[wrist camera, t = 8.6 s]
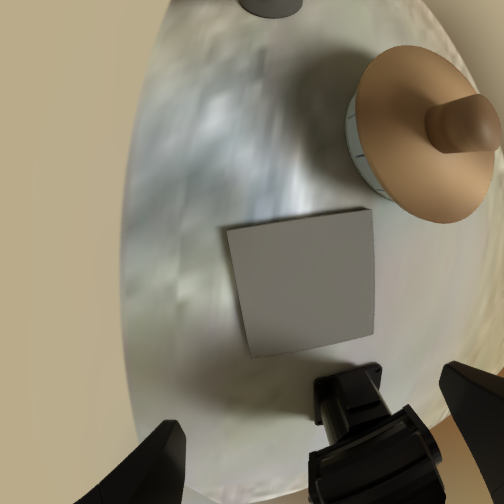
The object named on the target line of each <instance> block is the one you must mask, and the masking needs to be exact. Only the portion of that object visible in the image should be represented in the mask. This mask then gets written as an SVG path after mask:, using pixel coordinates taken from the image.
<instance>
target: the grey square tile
mask: <svg viewBox="0 0 504 504" xmlns="http://www.w3.org/2000/svg"><path fill="white" fill-rule="evenodd" d="M227 236H228V242H229V247H230V253H231V258H232V264H233V269H234V274H235V279H236V285H237V290H238V295H239V300H240V305H241V310H242V316H243V321H244V326H245V331H246V336H247V340H248V345H249V350H250V355H251V358H258V357H265V356H272V355H278V354H284V353H290V352H296V351H301V350H307V349H312V348H317V347H322V346H327V345H331V344H336V343H340V342H345V341H349V340H353V339H357V338H361V337H365V336H369V335H373V331H374V307H375V261H374V237H373V221H372V210H371V209H363V210H355V211H348V212H340V213H333V214H326V215H319V216H312V217H305V218H298V219H291V220H285V221H278V222H271V223H265V224H259V225H252V226H246V227H240V228H234V229H228V230H227Z"/></svg>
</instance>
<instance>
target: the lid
mask: <svg viewBox="0 0 504 504" xmlns="http://www.w3.org/2000/svg"><path fill="white" fill-rule="evenodd" d="M355 118H356V125H357V131H358V136H359V140H360V144H361V147H362V150H363V152H364V155H365V158H366V160H367V162H368V164H369V167H370V169H371V170H372V172H373V174H374V176H375V177H376V179H377V181H378V182H379V184H380V185H381V186H382V188H383V189H384V191H385V192H386V193H387V194H388V195H389V196H390V197H391V199H392V200H393V201H394V202H396V203H397V204H398V205H399V206H400V207H401V208H403V209H404V210H405V211H407V212H408V213H410V214H412V215H414V216H416V217H418V218H421V219H424V220H427V221H431V222H434V223H442V224H446V223H454V222H458V221H460V220H462V219H464V218H466V217H468V216H469V215H470V214H472V213H473V212H474V211H475V210H476V209H477V208H478V207H479V205H480V204H481V202H482V201H483V199H484V197H485V196H486V194H487V191H488V189H489V186H490V183H491V180H492V176H493V169H494V151H495V150H497V149H498V148H499V146H500V143H501V137H502V131H501V124H500V121H499V117H498V115H497V113H496V111H495V109H494V107H493V106H492V104H491V103H490V101H489V100H488V99H487V98H485V97H484V96H483V95H480V94H477V93H476V91H475V89H474V88H473V86H472V85H471V84H470V82H469V81H468V80H467V78H466V77H465V76H464V75H463V74H462V73H461V72H460V71H459V70H458V69H457V68H456V67H455V66H454V65H453V64H452V63H450V62H449V61H448V60H446V59H445V58H443V57H442V56H440V55H438V54H437V53H435V52H432V51H430V50H428V49H425V48H421V47H417V46H397V47H393V48H390V49H388V50H386V51H384V52H383V53H381V54H380V55H379V56H377V57H376V58H375V59H374V60H373V61H372V62H371V63H370V64H369V65H368V66H367V68H366V69H365V71H364V72H363V74H362V77H361V79H360V81H359V84H358V88H357V92H356V101H355Z"/></svg>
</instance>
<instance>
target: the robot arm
mask: <svg viewBox="0 0 504 504" xmlns="http://www.w3.org/2000/svg"><path fill="white" fill-rule="evenodd" d="M376 369H377V370H376ZM381 375H382V367H381V365H380V364H375V365H371V366H368V367H364V368H361V369H357V370H353V371H349V372H345V373H341V374H337V375H332V376H328V377H323V378H319V379H316V380H315V381H314V382H313V398H314V422H315V425H324V427H325V431H326V434H327V438H328V441H329V445H330V446H328V447H326V448H323V449H321V450H318V451H313V452H311V453H309V461H308V489H309V496H308V500H309V502H310V503H311V504H445V500H446V494H445V492H444V485H443V482H442V480H441V477H440V475H439V472H438V470H437V467H436V466H437V465H438V464H440V463H441V462H442V456H441V453H440V450H439V448H438V445H437V443H436V441H435V439H434V437H433V436H432V434H431V433H430V431H429V430H428V428H427V427H426V426H425V424H424V423H423V422H422V420H421V419H420V418H419V417H418V415H417V414H416V413H415V412H414V410H413V409H412V408H411V406H410V405H409V404H407V405H406V406H404V407H403V409H401V410H399V411H398V412H396V413H394V414H393V415H392V414H391V412H390V410H389V408H388V407H387V405H386V403H385V401H384V400H383V398H382V396H381V394H380V392H379V388H380V382H381ZM319 383H321V384H319ZM317 384H319V385H317ZM439 387H440V389H441V392H442V394H443V396H444V398H445V401H446V403H447V405H448V408H449V410H450V412H451V415H452V417H453V419H454V421H455V423H456V425H457V426H458V428H459V430H460V432H461V434H462V436H463V437H464V440H465V441H466V443H467V445H468V447H469V449H470V451H471V453H472V455H473V457H474V459H475V461H476V463H477V465H478V467H479V469H480V472H481V474H482V476H483V479H484V481H485V483H486V485H487V488H488V490H489V492H490V494H491V498H492V500H493V503H494V504H504V378H503V377H500V376H497V375H494V374H491V373H488V372H485V371H482V370H479V369H476V368H474V367H471V366H468V365H465V364H462V363H460V362H457V361H451V362H449V363H447V364H445V365H444V367H443V369H442V373H441V376H440V380H439ZM185 461H186V436H185V433H184V432H183V430H182V428H181V426H180V424H179V422H178V421H177V420H164V421H163V422H162V423H161V424H160V425H159V426H158V427H157V428H156V429H155V430H154V431H153V432H152V433H151V434H150V435H149V436H148V437H147V438H146V439H145V440H144V441H143V442H142V443H141V444H140V445H139V446H138V447H137V448H136V449H135V450H134V451H133V452H132V453H130V454H129V455H128V456H127V457H126V458H125V459H124V460H123V461H122V462H121V463H120V464H119V465H118V466H117V467H116V468H115V469H114V470H113V471H112V472H110V473H109V474H108V475H107V476H106V477H105V478H104V479H103V480H102V481H101V482H100V483H99V484H97V485H96V486H95V487H94V488H93V489H92V490H90V491H89V492H88V493H87V494H86V495H84V496H83V497H82V498H81V499H79V500H78V501H76V502H75V503H73V504H181V501H182V495H183V488H184V481H185Z"/></svg>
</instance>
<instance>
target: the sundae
mask: <svg viewBox="0 0 504 504" xmlns="http://www.w3.org/2000/svg"><path fill="white" fill-rule="evenodd" d="M239 1H240V3H241V5H242V6H243V7H244V8H245V9H246V10H247V11H249V12H250V13H253V14H255V15H258V16H261V17H266V18H283V17H288V16H290V15H293V14H295V13H296V12H298V11H299V9H300V8H301V7H302V3H303V0H239Z"/></svg>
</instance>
